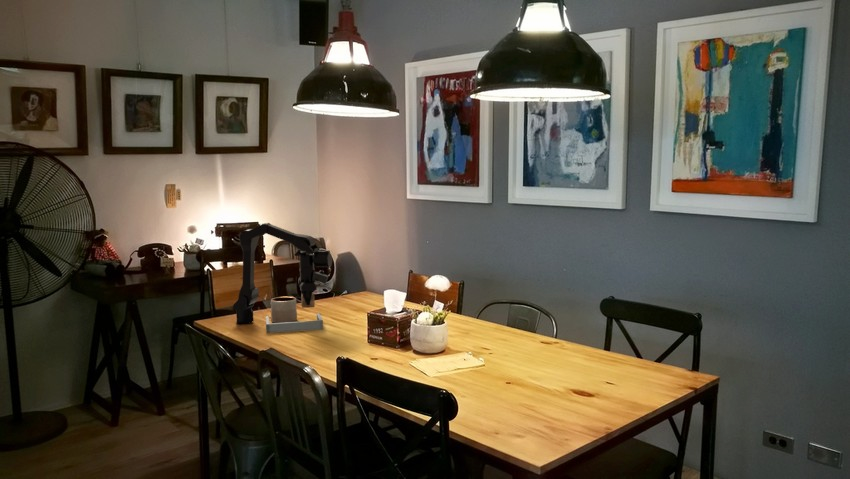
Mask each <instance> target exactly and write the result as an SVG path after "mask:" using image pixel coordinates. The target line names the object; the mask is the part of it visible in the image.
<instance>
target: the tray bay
mask: <svg viewBox="0 0 850 479" xmlns="http://www.w3.org/2000/svg"><path fill="white" fill-rule="evenodd" d="M321 315H322V314H320V312H318V313H316V320H304V321H303V320H302V321H294V322H286V323H274V322H272V323H270V318H269V317H270V316H265V328H266V329H265V331H266V334H271V333H272V334H273V333H287V332H301V331H303V332H304V331H316V330H324V320H323V317H322V316H321Z"/></svg>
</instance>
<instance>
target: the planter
mask: <svg viewBox="0 0 850 479" xmlns="http://www.w3.org/2000/svg"><path fill="white" fill-rule="evenodd" d="M297 310H298V309H297V297H294V296H278V297H274V298H270V317H271V318H270V320H271V322H272V323H286V322H297V319H298V311H297Z"/></svg>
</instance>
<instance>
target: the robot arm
mask: <svg viewBox="0 0 850 479" xmlns="http://www.w3.org/2000/svg"><path fill="white" fill-rule="evenodd" d="M266 234H267V235H270V236H272V237H274V238H277V239H280V240H282V241H285V242H286V243H287V242H288V243H290V244H291V245H293V247H294V248H296V249H298V250H297V252H295V253H294V257H296V256H297V257H299V269H298V270H299V277H298V282H297V283H298V286H299V288H300V291H301V293H302V294H303V297H304V299H305V302H306V304H307V305H310V300H311V295H312V293H314V292H315V291H317V290H318V289H317V284H316V282H319V283H322V284H324V285H326V284H327V283H328V282H327V281H328V279H329V276H328V275H327V274H325V271H324V270H321V269H320V270H319V271H316V270H315V267H316V268H331V267H332V265H333V256H332V253H331V250H321V249H320V248H319V247H318V245H317V244H316V241H315V238H314V237H313V236H311V235H308V234H300V233H294V232H292V231H290V230H288V229H284V228H282V227H278V226H277V225H274V224H271V223H270V222H265V223H261V224H260V225H258V226H256V227H254V228H249V229H246V230H243V231H241V232H240V233H239V236H238V237H239V244H240V248H241V249H242V284H241V287H240V289H239V292H238V298H237V301H236V302H234V303H233V304H232V307H233V310H234V311H236V312H235V313H236V315H235V316H236V323H235V324H236V325H245V324H253V322H254V310H253V309H252V308H253V307H254V305H255V303H256V302H257V301H258V298H259V297H260V296H259V295H260V294H259V290H260V288H259V287H256V286H255V254H256V249H257V246H258V244H259V239H260V237H263V236H264V235H266Z"/></svg>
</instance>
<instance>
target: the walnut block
mask: <svg viewBox="0 0 850 479" xmlns="http://www.w3.org/2000/svg"><path fill="white" fill-rule="evenodd" d="M300 294H301V296H300V297H301V298H300V299H301V308H302V309H303V308H304V309H305V308H307V309H309V308H315V307H316V306H315V305H316V303H315V293H314V292H313V293H312V295H311V300H310V305H307V304H306V302H305V299H304V297H303V294H302V292H301V293H300Z"/></svg>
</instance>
